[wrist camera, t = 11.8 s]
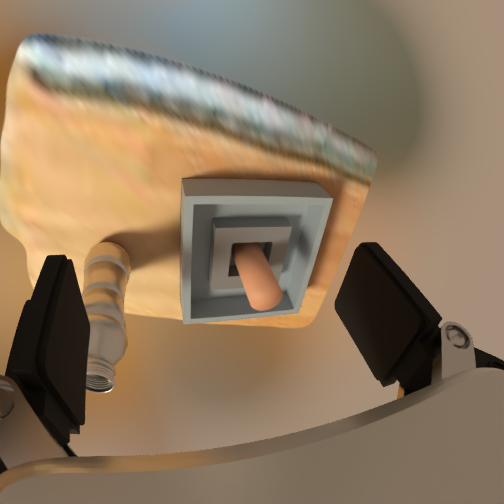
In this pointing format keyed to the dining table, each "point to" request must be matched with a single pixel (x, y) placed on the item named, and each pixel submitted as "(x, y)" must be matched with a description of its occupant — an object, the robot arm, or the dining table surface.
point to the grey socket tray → (244, 231)
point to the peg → (256, 276)
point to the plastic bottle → (105, 312)
